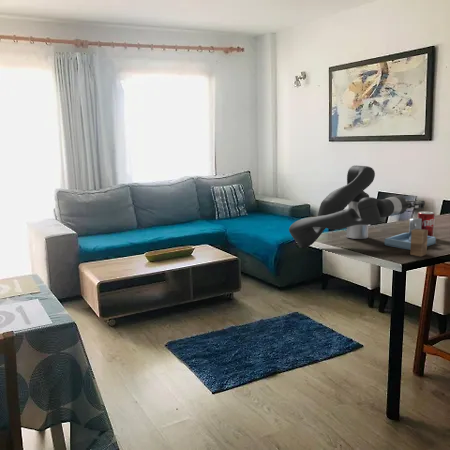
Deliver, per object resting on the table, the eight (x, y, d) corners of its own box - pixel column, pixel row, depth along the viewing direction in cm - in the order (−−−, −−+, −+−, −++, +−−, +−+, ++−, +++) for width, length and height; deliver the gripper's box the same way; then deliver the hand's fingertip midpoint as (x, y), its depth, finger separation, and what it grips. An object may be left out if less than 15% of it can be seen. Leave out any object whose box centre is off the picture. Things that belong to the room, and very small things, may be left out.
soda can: (412, 237, 233) (414, 211, 231) (425, 236, 235) (426, 210, 233) (424, 240, 226) (425, 214, 224) (436, 239, 229) (438, 213, 226)
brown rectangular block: (420, 256, 199) (422, 231, 197) (410, 254, 202) (411, 230, 200) (426, 254, 202) (427, 230, 200) (415, 252, 205) (417, 228, 203)
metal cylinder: (408, 242, 220) (409, 219, 218) (408, 239, 225) (409, 217, 223) (420, 242, 218) (421, 219, 216) (420, 240, 223) (421, 218, 221)
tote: (414, 250, 208) (415, 243, 207) (384, 245, 218) (384, 238, 218) (435, 243, 220) (435, 237, 219) (405, 238, 230) (405, 232, 229)
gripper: (376, 212, 208) (398, 208, 218) (408, 218, 197) (429, 213, 207) (377, 194, 206) (399, 191, 216) (409, 199, 196) (431, 195, 206)
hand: (414, 201), depth 212 cm, fingers open, 8 cm apart
